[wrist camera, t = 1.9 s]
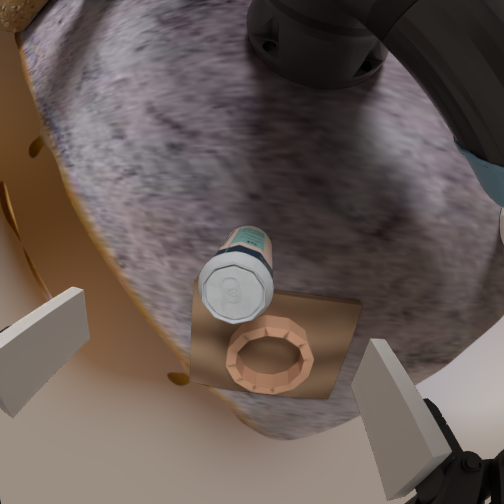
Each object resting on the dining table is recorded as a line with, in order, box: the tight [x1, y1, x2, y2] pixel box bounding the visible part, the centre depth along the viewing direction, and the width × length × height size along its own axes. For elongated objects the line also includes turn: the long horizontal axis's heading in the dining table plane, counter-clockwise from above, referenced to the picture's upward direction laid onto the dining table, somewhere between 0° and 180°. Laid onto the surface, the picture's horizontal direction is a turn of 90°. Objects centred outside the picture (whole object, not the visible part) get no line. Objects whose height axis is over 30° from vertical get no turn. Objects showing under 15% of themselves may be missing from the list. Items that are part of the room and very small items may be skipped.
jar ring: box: [226, 315, 314, 395], centre depth 28 cm, size 9×9×2 cm
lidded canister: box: [198, 226, 274, 324], centre depth 22 cm, size 5×5×12 cm
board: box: [190, 277, 363, 399], centre depth 30 cm, size 14×18×1 cm
